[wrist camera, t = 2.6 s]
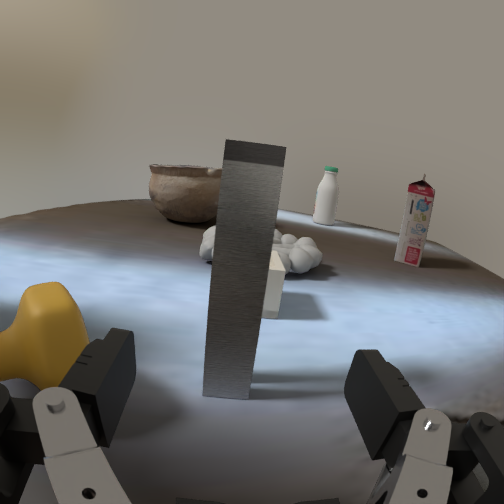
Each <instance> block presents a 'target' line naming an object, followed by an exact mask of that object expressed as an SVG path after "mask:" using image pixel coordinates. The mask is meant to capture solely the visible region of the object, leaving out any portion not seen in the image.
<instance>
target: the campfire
mask: <svg viewBox="0 0 504 504" xmlns="http://www.w3.org/2000/svg"><path fill="white" fill-rule="evenodd" d="M215 229H216V226H213V227H210V228H209V229H207V230H206V231H205V232H204V234H203V237H204V239H203V242H202V245H201V247H200V257H201V258H202V259H204V260H213V249H214V239H215ZM272 250H274V251H277V253H278V255H279V257H280V259H281V262H282V264H283V266H284V268H285V271H286V272H285V274H287V273H288V272H289V270H290V268H291V269H292V270H293V271H294V272H295V273H299V274H302V273H304V272H307V271H309V269H310V268H314V267H316V266H318V265H319V263H320V261H321V259H322V255H323V254H322V253H321V252H320V251H319V250H318V249H317V247H316V244H315V242H314V241H313V240H312V239H311V238H309V237H302V238H300V239H299V240H298V239H297V238H296V237H295V236H293V235H290V234H285V235H283V236H282V234H281V233H280V232H279V231H278V230H277V229H275V232H274V239H273V245H272Z"/></svg>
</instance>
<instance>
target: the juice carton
mask: <svg viewBox="0 0 504 504" xmlns="http://www.w3.org/2000/svg"><path fill="white" fill-rule="evenodd" d="M434 195H435V191H434V190H433V188H432V187H431V186H430V185H429V184H428V183H426V182H425V174H424V177H423V180H421V181H418V182H414V183H411V184H409V187H408V194H407V200H406V206H405V211H404V216H403V221H402V226H401V231H400V236H399V240H398V245H397V249H396V254H395V258H394V260H395V261H398V262H402V263H405V264H409V265H412V266H416V267H419V265H420V261H421V257H422V253H423V249H424V245H425V240H426V236H427V231H428V227H429V222H430V217H431V211H432V206H433V200H434Z"/></svg>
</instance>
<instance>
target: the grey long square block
mask: <svg viewBox="0 0 504 504" xmlns="http://www.w3.org/2000/svg"><path fill="white" fill-rule="evenodd" d="M285 153H286V147H282V146H275V145H268V144H260V143H252V142H244V141H236V140H226V142H225V150H224V159H223V167H222V175H221V183H220V192H219V201H218V210H217V220H216V229H215V239H214V249H213V260H212V271H211V282H210V294H209V306H208V319H207V332H206V346H205V361H204V377H203V395H202V396H211V397H222V398H234V399H248V397H249V391H250V385H251V379H252V373H253V367H254V361H255V355H256V349H257V342H258V336H259V330H260V324H261V317H262V311H263V305H264V298H265V292H266V285H267V279H268V272H269V266H270V259H271V252H272V245H273V239H274V232H275V225H276V218H277V211H278V204H279V197H280V189H281V182H282V175H283V168H284V160H285Z"/></svg>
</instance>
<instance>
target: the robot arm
mask: <svg viewBox="0 0 504 504" xmlns="http://www.w3.org/2000/svg"><path fill="white" fill-rule="evenodd" d="M135 376H136V359H135V345H134V334H133V332H132V331H129V330H123V329H117V328H111V329H110V331H109V332H108V334H107V335H106V337H105V338H104V340H101V339H96V340H94V341H93V342H91V343H89V344H88V345H86V347H85V348H84V349H83V351H82V352H81V354H80V356H78V358H77V359H76V361H75V363H74V364H73V365H72V366H71V368H70V369H69V371H68V372H67V374H66V375H65V377H64V378H63V380H62V381H61V383H60V384H59V386H58V387H50V388H46V389H44V390H42V391H40V392H39V393H38V394H37V395H36V396H35V397H34V399H22V398H11V396H10V393H9V391H8V389H7V388H6V387H5V386H4V385H3V384H1V383H0V504H19V501H20V498H21V496H22V493H23V491H24V488H25V486H26V483H27V481H28V478H29V476H30V473H31V471H32V469H33V466H34V464H42V465H45V466H46V470H47V473H48V476H49V479H50V482H51V484H52V487H53V490H54V493H55V495H56V498H57V500H58V503H59V504H131V502H130V500H129V499H128V497H127V495H126V494H125V492H124V490H123V489H122V487H121V485H120V483H119V482H118V480H117V478H116V476H115V475H114V473H113V471H112V469H111V467H110V465H109V463H108V461H107V460H106V458H105V456H104V454H103V452H102V450H101V448H100V446H103V447H107V448H109V446H110V444H111V441H112V438H113V435H114V433H115V430H116V427H117V425H118V422H119V420H120V417H121V414H122V412H123V409H124V407H125V404H126V402H127V399H128V397H129V394H130V392H131V389H132V387H133V384H134V381H135ZM344 394H345V398H346V401H347V403H348V405H349V408H350V410H351V412H352V415H353V417H354V419H355V422H356V424H357V426H358V429H359V431H360V433H361V436H362V438H363V440H364V443H365V445H366V447H367V450H368V452H369V455H370V457H371V459H372V460H378V459H384V458H385V461H386V463H385V465H384V466H383V468H382V470H381V473H380V475H379V477H378V479H377V482H376V484H375V486H374V488H373V490H372V493H371V495H370V497H369V499H368V501H367V503H366V504H504V428H503V426H502V425H501V424H500V422H499V421H498V420H497V419H496V418H495V417H494V416H492V415H490V414H488V413H484V412H477V413H475V414H473V415H472V416H471V418H470V419H469V421H468V423H467V424H458V423H451V422H450V420H449V418H448V417H447V416H446V415H445V414H443V413H442V412H440V411H438V410H435V409H430V408H425V407H424V405H423V404H422V402H421V401H420V399H419V398H418V396H417V395H416V394H415V392H414V391H413V389H412V388H411V386H410V387H409V384H408V382H407V381H406V380H404V376H403V375H402V374H401V372H400V371H399V369H397V368H396V367H395V366H393V365H392V364H391V363H389V362H386V361H385V359H384V358H383V357H382V355H381V354H380V352H379V351H378V350H357V351H356V353H355V355H354V358H353V361H352V364H351V367H350V370H349V373H348V376H347V379H346V381H345V386H344ZM479 462H480V464H481V466H482V468H483V469H484V471H485V473H486V474H487V476H488V478H489V486H488V489H487V490H486V491H485V492H484V491H483V489H482V487H481V485H480V483H479V482H478V480H477V478H476V476H475V474H474V473H473V471H472V470H473V469H474V468H475V467H476V465H477V464H478V463H479ZM176 504H224V503H221V502H214V501H203V500H193V499H184V498H177V497H176ZM295 504H340V502H339V499H338V498H334V499H326V500H316V501H304V502H298V503H295Z"/></svg>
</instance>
